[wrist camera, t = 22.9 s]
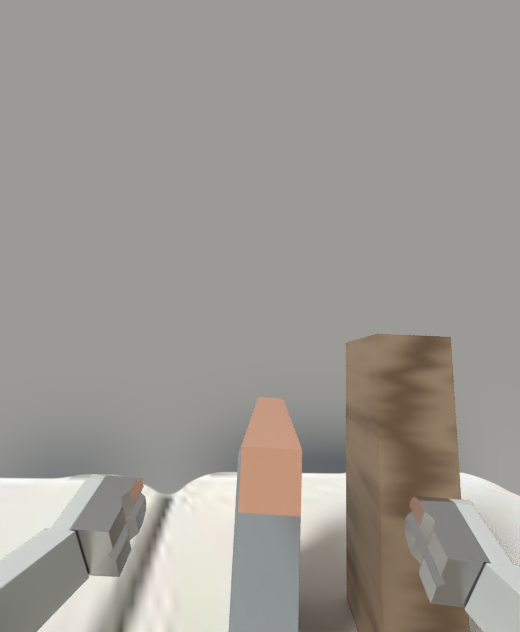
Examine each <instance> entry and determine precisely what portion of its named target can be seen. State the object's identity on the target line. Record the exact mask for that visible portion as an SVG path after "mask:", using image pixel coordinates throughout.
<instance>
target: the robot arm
mask: <svg viewBox="0 0 520 632" xmlns="http://www.w3.org/2000/svg"><path fill="white" fill-rule="evenodd" d="M143 487H144V486H143V482H142V479H139V478H129V477H119V476H109V475H97V474H92V475H91V476H89V477H88V478H87V479H86V480H85V482H84V483H83V484H82V486H81V487H80V489H79V490H78V491H77V493H76V494H75V496H74V497H73V498H72V500H71V501H70V502H69V504H68V505H67V507H66V508H65V509H64V511H63V512H62V514H61V515H60V516H59V518H58V519H57V521H56V522H55V523H54V525H53V526H52V528H51V529H44V530H43V531H41V532H40V533H38V534H37V535H36V536H34V537H33V538H31V539H30V540H28V541H27V542H26V543H24V544H23V545H21V546H20V547H18V548H17V549H16V550H14V551H13V552H11V553H10V554H9V555H7V556H6V557H4V558H3V559H1V560H0V632H37V631H38V630H39V629H40V628H41V627H42V626H43V624H44V623H45V622H46V621H47V620H48V619H49V618H50V617H51V616H52V615H53V614H54V613H55V612H56V611H57V610H58V609H59V608H60V607H61V606H62V605H63V604H64V603H65V602H66V601H67V600H68V599H69V598H70V597H71V596H72V594H73V593H74V592H75V591H76V590H77V589H78V588H79V587H80V586H81V585H82V584H83V583H84V582H85V581H86V580H87V579H88V578H89V576H88V575H93V576H112V577H120V574H121V572H122V570H123V568H124V565H125V563H126V561H127V558H128V556H129V554H130V551H131V545H130V540H131V539H132V538H133V537H134V536H136V535H137V534H138V533H139V531H140V528H141V526H142V523H143V520H144V516H145V512H146V498H145V496H144V495H143V494H142V493H141V491H142V489H143ZM409 506H410V508H411V510H412V512H411V513H409V514H408V515H407V516H406V519H405V524H404V526H405V536H406V540H407V544H408V547H409V549H410V552H411V554H412V555H413V556H414V558H415V559H416V560H417V561H418V562H419V563H420V569H419V575H420V578H421V581H422V583H423V586H424V588H425V591H426V593H427V596H428V598H429V601H430V603H431V604H439V605H448V606H456V607H465V611H466V612H467V613H468V614H469V616H470V617H471V618H472V619H473V620H474V621H475V623H476V624H477V625H478V626H479V627H480V629H481V630H482V631H483V632H520V566H518V565H514V564H513V563H512V561H511V560H510V558H509V557H508V555H507V554H506V552H505V551H504V549H503V548H502V546H501V545H500V543H499V542H498V540H497V539H496V537H495V536H494V534H493V533H492V532H491V530H490V529H489V527H488V526H487V524H486V523H485V521H484V520H483V518H482V517H481V515H480V514H479V512H478V511H477V509H476V508H475V506H474V505H473V504H472V503H471V502H470V501H469V500H459V499H448V498H432V497H413V498H412V499H411V501H410V505H409Z"/></svg>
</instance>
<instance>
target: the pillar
mask: <svg viewBox="0 0 520 632" xmlns="http://www.w3.org/2000/svg"><path fill="white" fill-rule="evenodd" d="M413 497H432V498H448V499H459V500H461V490H460V475H459V459H458V443H457V429H456V413H455V397H454V381H453V365H452V350H451V337H439V336H415V335H414V336H413V335H390V334H375V335H371V336H368V337H365V338H361V339H358V340H354V341H351V342H347V343H346V542H347V599H348V602H349V605H350V608H351V611H352V614H353V617H354V620H355V623H356V626H357V629H358V632H470V631H469V615H468V613H467V612H466V611H465V607H456V606H448V605H439V604H431V603H430V601H429V598H428V596H427V593H426V591H425V588H424V586H423V583H422V581H421V578H420V575H419V569H420V563H419V562H418V561H417V560H416V559H415V558H414V556H413V555H412V554H411V552H410V549H409V547H408V544H407V540H406V536H405V526H404V524H405V519H406V516H407V515H408V514H409V513H411V512H412V510H411V508H410V506H409V505H410V501H411V499H412V498H413Z"/></svg>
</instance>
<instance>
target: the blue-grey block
mask: <svg viewBox="0 0 520 632" xmlns="http://www.w3.org/2000/svg"><path fill="white" fill-rule="evenodd" d="M245 435H246V434H245ZM244 438H245V437H244ZM243 441H244V440H243ZM242 444H243V443H242ZM241 448H242V446H241ZM241 448H240V451H239V455H238V472H237V490H236V508H235V526H234V544H233V563H232V581H231V599H230V617H229V632H298V620H299V571H300V523H301V517H300V516H285V515H270V514H256V513H241V512H238V504H239V486H240V467H241Z"/></svg>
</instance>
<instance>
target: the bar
mask: <svg viewBox="0 0 520 632" xmlns="http://www.w3.org/2000/svg"><path fill="white" fill-rule="evenodd" d="M301 479H302V448H301V446H300V443H299V440H298V438H297V436H296V432H295V430H294V427H293V425H292V422H291V419H290V417H289V414H288V411H287V409H286V406H285V403H284V401H283V398H267V397H259V398H258V400H257V403H256V406H255V409H254V412H253V415H252V418H251V421H250V423H249V426H248V429H247V432H246V435H245V438H244V441H243V444H242V448H241V467H240V486H239V504H238V512H241V513H256V514H270V515H285V516H300V517H301Z"/></svg>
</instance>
